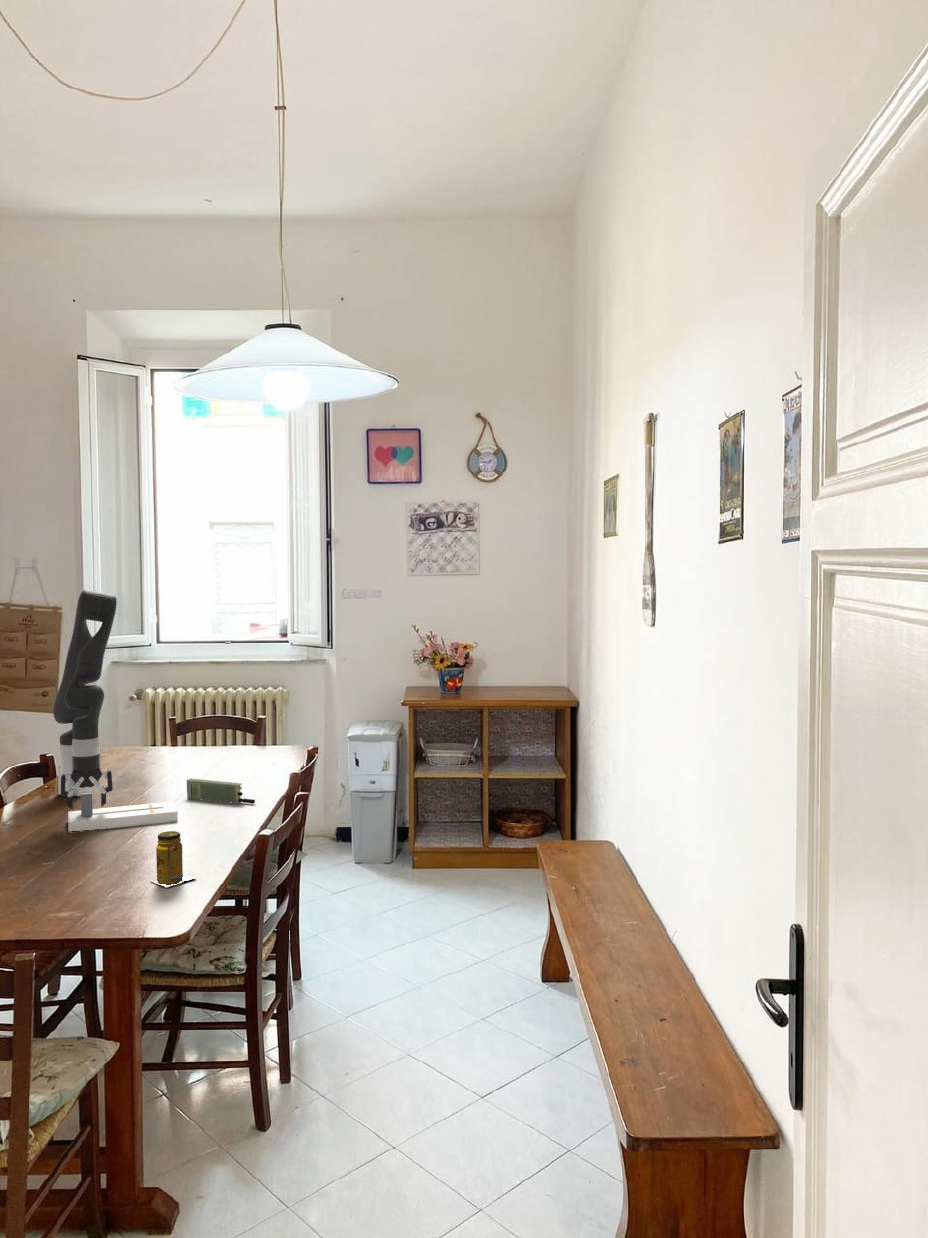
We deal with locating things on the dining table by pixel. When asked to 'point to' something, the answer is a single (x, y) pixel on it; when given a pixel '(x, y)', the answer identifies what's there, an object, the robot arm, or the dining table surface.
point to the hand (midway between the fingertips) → (87, 807)
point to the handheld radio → (215, 791)
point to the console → (123, 816)
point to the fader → (86, 803)
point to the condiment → (169, 858)
